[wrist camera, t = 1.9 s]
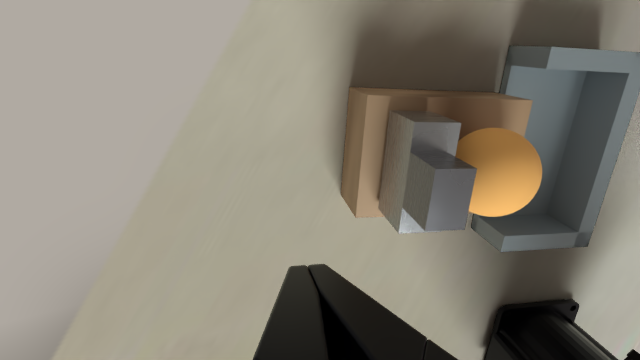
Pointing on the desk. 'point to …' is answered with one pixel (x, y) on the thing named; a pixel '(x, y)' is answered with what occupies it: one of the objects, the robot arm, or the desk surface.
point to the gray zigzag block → (424, 174)
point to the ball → (500, 170)
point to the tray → (566, 141)
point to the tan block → (375, 104)
